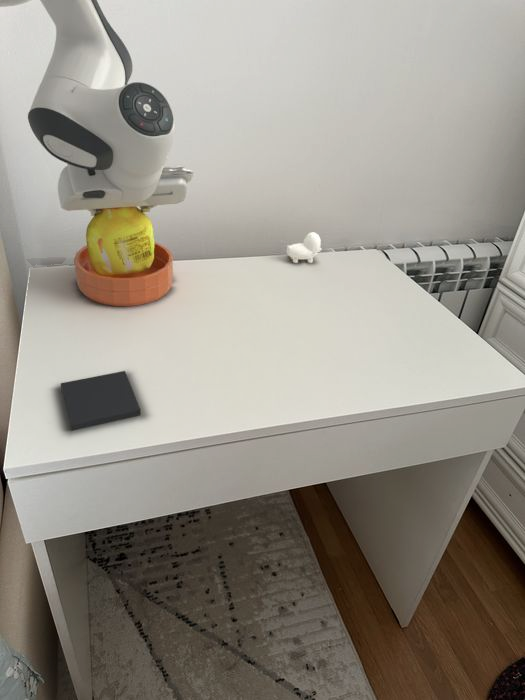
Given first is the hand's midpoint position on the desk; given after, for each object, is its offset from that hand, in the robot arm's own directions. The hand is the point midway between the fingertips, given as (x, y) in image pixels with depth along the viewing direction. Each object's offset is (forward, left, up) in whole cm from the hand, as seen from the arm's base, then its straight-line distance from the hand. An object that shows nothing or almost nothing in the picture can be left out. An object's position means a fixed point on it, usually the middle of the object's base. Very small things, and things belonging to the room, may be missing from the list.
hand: (119, 209), depth 93 cm
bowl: (0, -1, -14) cm, 14 cm away
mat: (-11, -33, -14) cm, 37 cm away
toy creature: (+38, 0, -14) cm, 41 cm away
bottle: (0, -1, -12) cm, 12 cm away
